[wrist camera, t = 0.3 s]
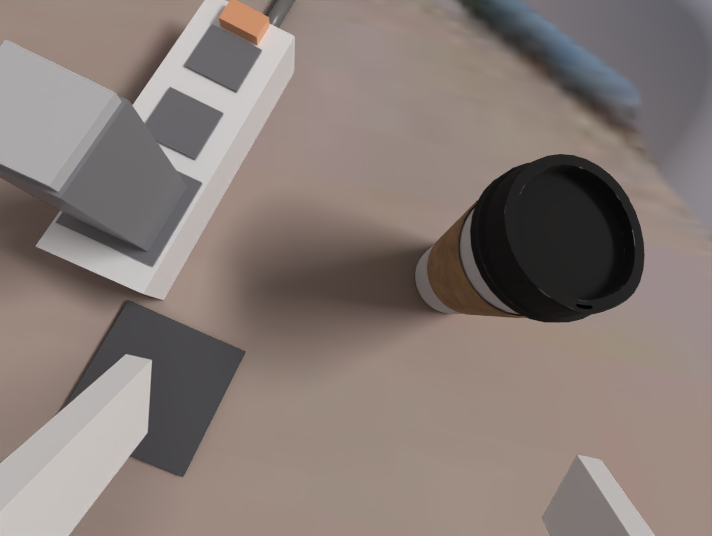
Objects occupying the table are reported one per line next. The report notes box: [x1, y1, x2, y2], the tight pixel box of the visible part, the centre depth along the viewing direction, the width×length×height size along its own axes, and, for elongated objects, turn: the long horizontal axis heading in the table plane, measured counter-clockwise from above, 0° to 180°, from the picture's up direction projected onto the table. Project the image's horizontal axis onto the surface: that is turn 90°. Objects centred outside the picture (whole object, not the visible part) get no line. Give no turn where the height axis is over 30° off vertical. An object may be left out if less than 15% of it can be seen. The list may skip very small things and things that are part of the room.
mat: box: [64, 301, 245, 477], centre depth 26 cm, size 9×9×1 cm
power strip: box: [36, 0, 295, 300], centre depth 28 cm, size 29×7×5 cm, turn 156°
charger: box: [0, 40, 187, 252], centre depth 19 cm, size 5×5×10 cm
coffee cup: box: [415, 154, 644, 322], centre depth 24 cm, size 8×8×15 cm
